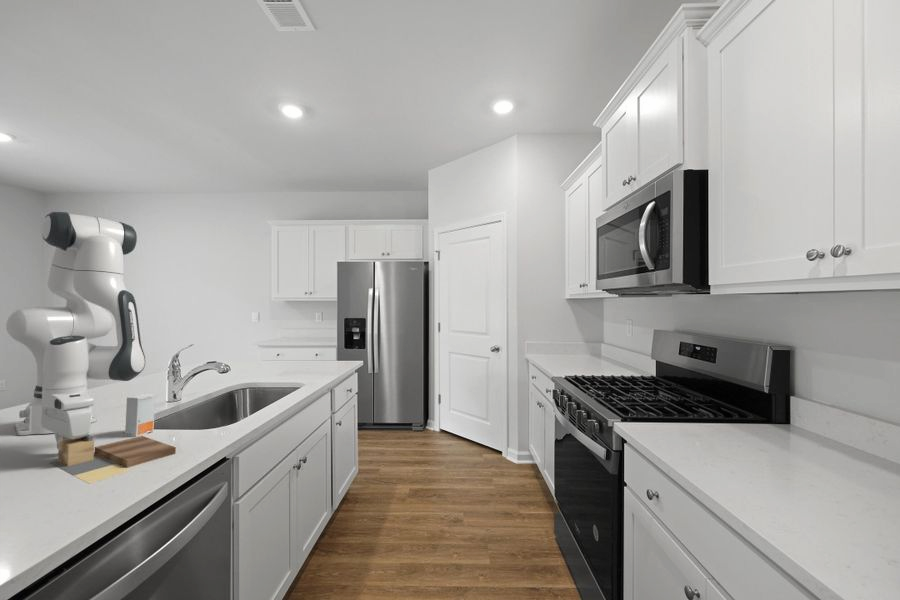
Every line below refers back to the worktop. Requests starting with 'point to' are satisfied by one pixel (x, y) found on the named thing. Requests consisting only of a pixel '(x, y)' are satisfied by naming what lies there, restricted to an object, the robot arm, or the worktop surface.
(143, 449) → the walnut board
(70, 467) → the strip
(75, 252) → the robot arm
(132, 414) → the skincare box
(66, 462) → the light wooden block
